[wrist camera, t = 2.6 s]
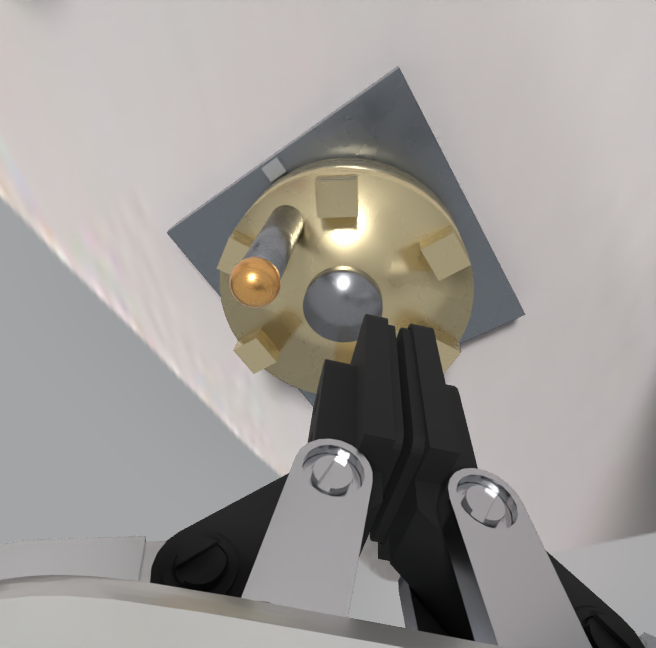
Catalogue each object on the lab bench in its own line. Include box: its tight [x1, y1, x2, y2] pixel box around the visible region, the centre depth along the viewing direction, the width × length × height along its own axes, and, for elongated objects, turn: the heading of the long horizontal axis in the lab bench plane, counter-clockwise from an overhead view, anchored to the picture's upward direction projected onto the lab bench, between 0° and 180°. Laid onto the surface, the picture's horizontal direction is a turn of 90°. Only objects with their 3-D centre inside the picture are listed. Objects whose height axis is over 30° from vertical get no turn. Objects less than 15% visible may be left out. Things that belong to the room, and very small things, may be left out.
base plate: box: [167, 66, 525, 407], centre depth 27 cm, size 15×15×2 cm
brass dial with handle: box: [217, 158, 474, 394], centre depth 22 cm, size 13×13×10 cm
